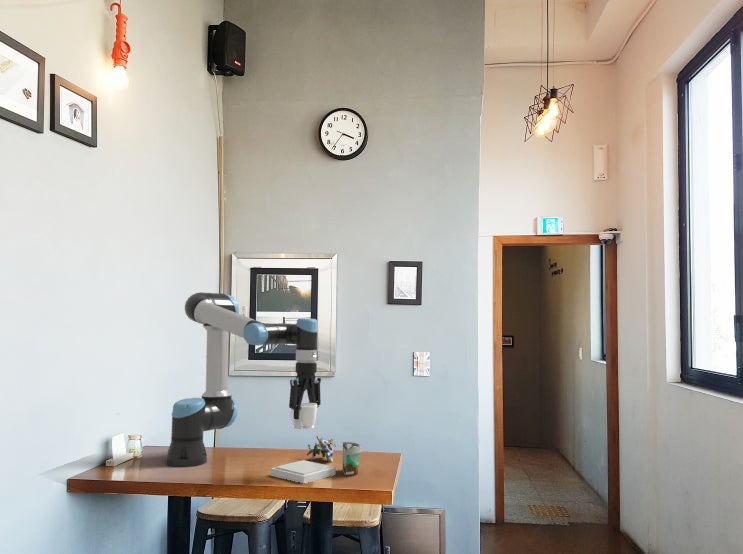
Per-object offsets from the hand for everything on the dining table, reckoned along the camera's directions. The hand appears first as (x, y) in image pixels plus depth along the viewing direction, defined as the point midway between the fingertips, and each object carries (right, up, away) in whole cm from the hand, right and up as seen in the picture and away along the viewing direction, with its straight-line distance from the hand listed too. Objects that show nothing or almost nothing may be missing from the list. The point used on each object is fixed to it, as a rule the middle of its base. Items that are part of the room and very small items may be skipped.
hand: (304, 427), depth 213 cm
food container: (+17, -18, +3) cm, 25 cm away
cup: (0, 0, 0) cm, 0 cm away
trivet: (0, -17, -1) cm, 17 cm away
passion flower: (+4, -19, +21) cm, 28 cm away
